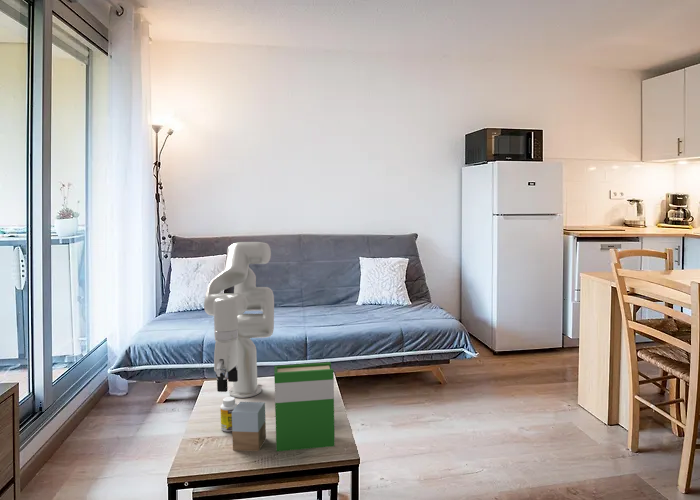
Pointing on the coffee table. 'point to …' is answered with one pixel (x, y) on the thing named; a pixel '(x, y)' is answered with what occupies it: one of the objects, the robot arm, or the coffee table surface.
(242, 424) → the slate block
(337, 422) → the coffee table surface
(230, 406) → the supplement bottle
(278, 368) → the hardback book
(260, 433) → the walnut block
